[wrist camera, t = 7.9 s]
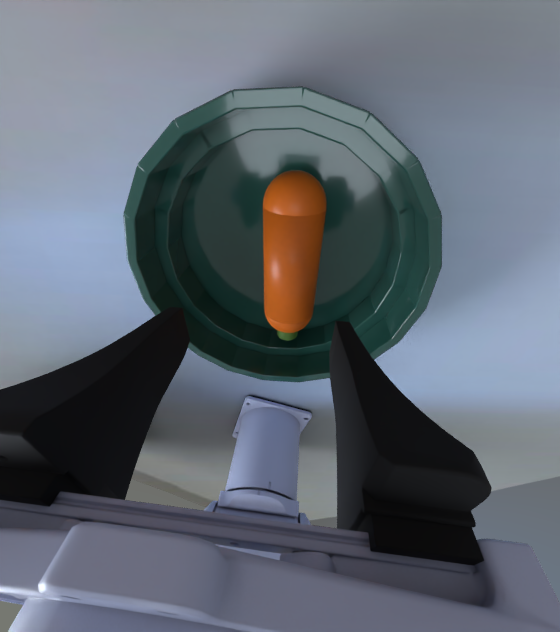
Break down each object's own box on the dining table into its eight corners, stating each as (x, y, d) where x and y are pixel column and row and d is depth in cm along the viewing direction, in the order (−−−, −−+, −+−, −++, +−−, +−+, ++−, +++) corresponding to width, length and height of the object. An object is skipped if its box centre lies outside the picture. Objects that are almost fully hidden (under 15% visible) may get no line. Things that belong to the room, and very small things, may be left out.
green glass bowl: (344, 358, 25) (349, 403, 21) (163, 306, 24) (133, 345, 20) (476, 158, 15) (535, 175, 11) (168, 40, 13) (105, 9, 9)
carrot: (304, 318, 23) (315, 347, 20) (262, 321, 22) (267, 352, 19) (320, 164, 16) (340, 177, 13) (259, 164, 15) (266, 177, 12)
